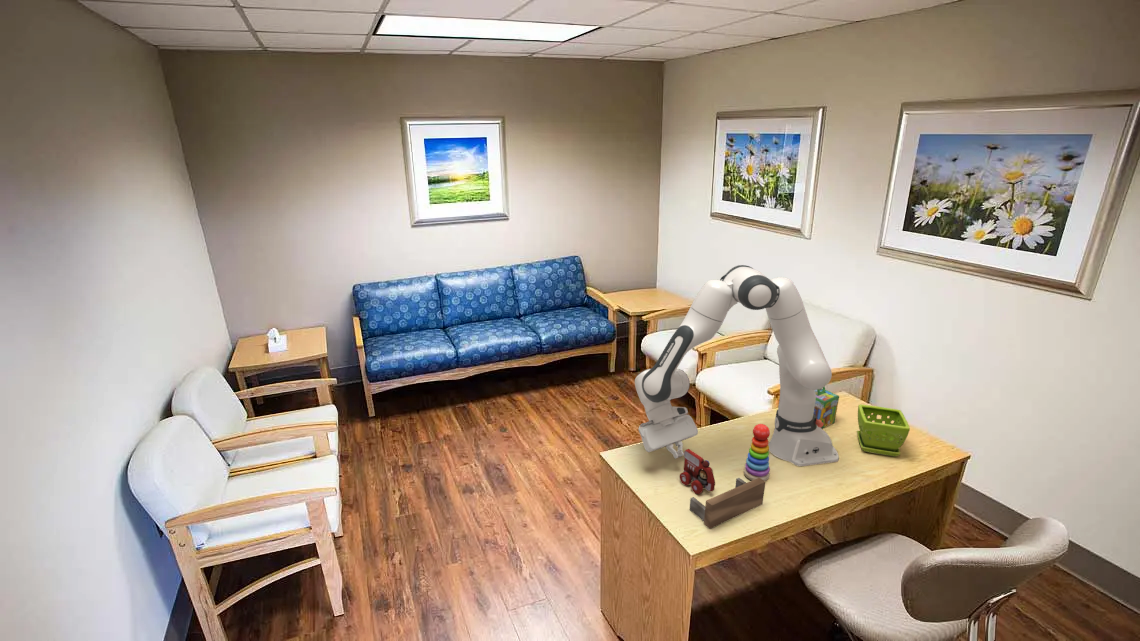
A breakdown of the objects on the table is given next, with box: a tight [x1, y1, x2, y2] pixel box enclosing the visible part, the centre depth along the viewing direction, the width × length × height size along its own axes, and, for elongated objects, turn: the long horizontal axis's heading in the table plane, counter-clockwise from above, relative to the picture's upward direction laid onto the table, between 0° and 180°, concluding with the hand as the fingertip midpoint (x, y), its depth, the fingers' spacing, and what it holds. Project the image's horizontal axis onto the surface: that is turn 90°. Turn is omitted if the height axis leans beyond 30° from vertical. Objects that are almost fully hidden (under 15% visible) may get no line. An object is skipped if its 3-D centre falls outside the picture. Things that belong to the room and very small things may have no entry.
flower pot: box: [856, 403, 911, 457], centre depth 190 cm, size 14×14×13 cm
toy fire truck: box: [679, 448, 716, 495], centre depth 171 cm, size 7×12×10 cm, turn 32°
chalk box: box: [813, 386, 840, 429], centre depth 207 cm, size 9×9×15 cm
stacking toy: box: [743, 423, 771, 482], centre depth 174 cm, size 8×8×19 cm
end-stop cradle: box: [688, 477, 766, 530], centre depth 161 cm, size 9×21×8 cm, turn 120°
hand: (679, 456), depth 178 cm, fingers closed
